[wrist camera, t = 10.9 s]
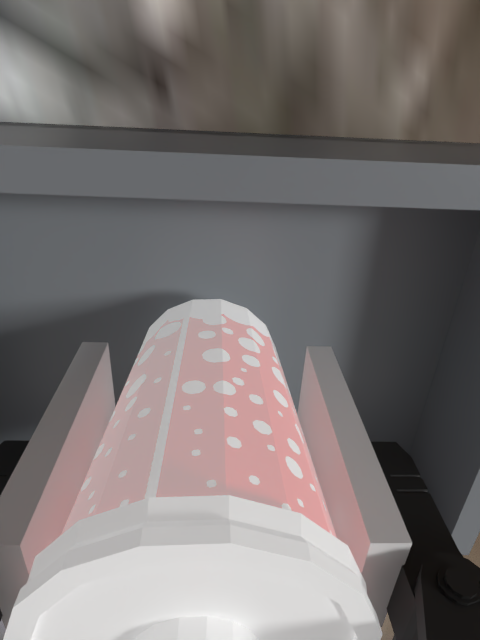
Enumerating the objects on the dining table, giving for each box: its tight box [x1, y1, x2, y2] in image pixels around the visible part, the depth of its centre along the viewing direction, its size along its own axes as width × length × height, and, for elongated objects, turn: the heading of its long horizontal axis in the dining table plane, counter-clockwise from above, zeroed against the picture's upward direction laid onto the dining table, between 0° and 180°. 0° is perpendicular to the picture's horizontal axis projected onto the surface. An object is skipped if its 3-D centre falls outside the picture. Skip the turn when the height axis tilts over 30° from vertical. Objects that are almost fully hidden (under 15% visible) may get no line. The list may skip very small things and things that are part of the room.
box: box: [0, 122, 480, 555], centre depth 15 cm, size 14×20×5 cm
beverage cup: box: [3, 299, 382, 640], centre depth 9 cm, size 6×6×14 cm
